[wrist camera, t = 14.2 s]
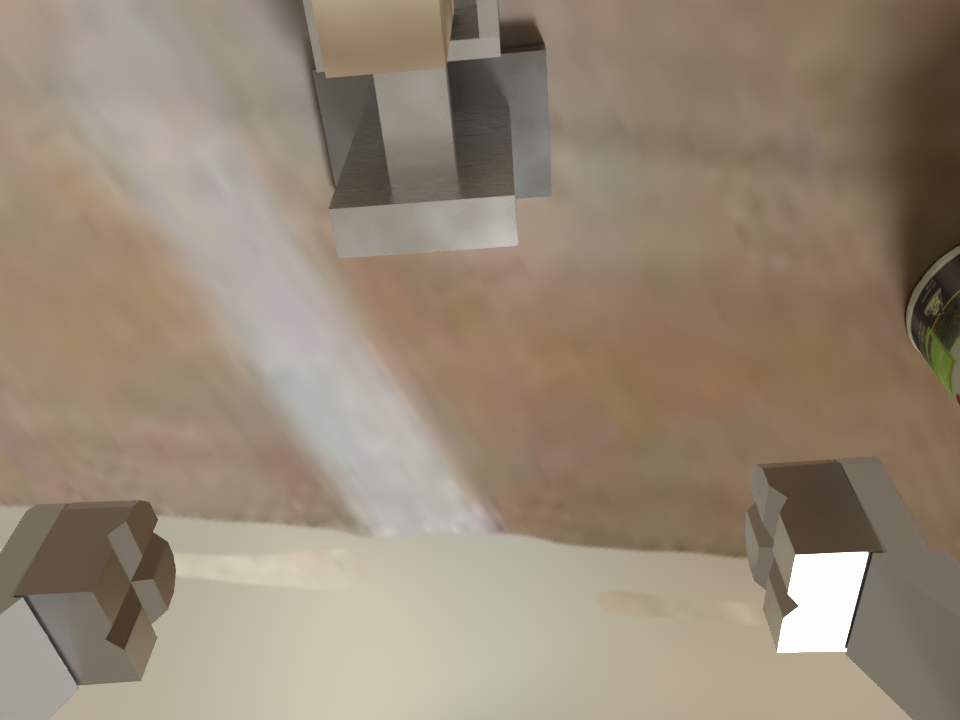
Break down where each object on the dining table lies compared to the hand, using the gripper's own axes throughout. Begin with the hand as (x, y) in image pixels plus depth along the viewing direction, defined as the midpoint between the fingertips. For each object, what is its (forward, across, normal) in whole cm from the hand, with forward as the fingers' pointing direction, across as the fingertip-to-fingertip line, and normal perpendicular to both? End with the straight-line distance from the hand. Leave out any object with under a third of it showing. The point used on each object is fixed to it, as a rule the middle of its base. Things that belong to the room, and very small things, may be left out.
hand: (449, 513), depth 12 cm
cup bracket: (+37, +3, +3) cm, 37 cm away
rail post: (+32, +3, -2) cm, 32 cm away
